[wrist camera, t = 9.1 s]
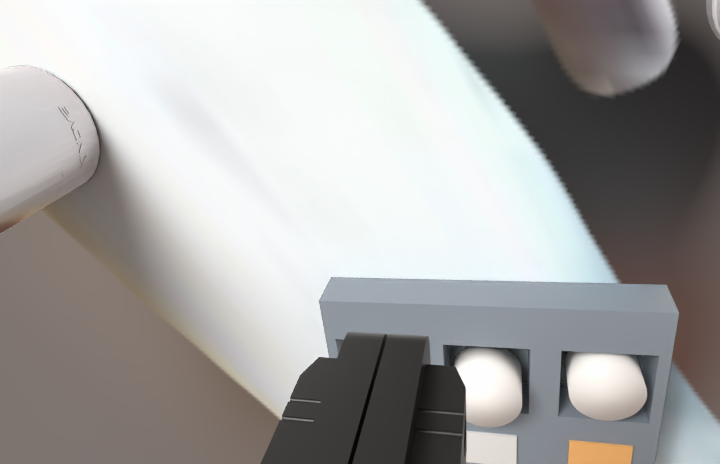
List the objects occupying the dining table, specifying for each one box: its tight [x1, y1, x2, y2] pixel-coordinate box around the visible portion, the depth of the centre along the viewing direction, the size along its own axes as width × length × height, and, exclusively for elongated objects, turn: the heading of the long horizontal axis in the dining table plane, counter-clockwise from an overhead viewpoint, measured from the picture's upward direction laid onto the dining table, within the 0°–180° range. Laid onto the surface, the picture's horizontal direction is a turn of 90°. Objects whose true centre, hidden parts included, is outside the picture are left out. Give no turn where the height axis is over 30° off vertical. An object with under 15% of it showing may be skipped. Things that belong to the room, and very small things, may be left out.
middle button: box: [453, 346, 522, 427], centre depth 38 cm, size 5×5×3 cm
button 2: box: [565, 351, 647, 421], centre depth 37 cm, size 5×5×3 cm
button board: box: [319, 277, 679, 464], centre depth 40 cm, size 22×16×3 cm
